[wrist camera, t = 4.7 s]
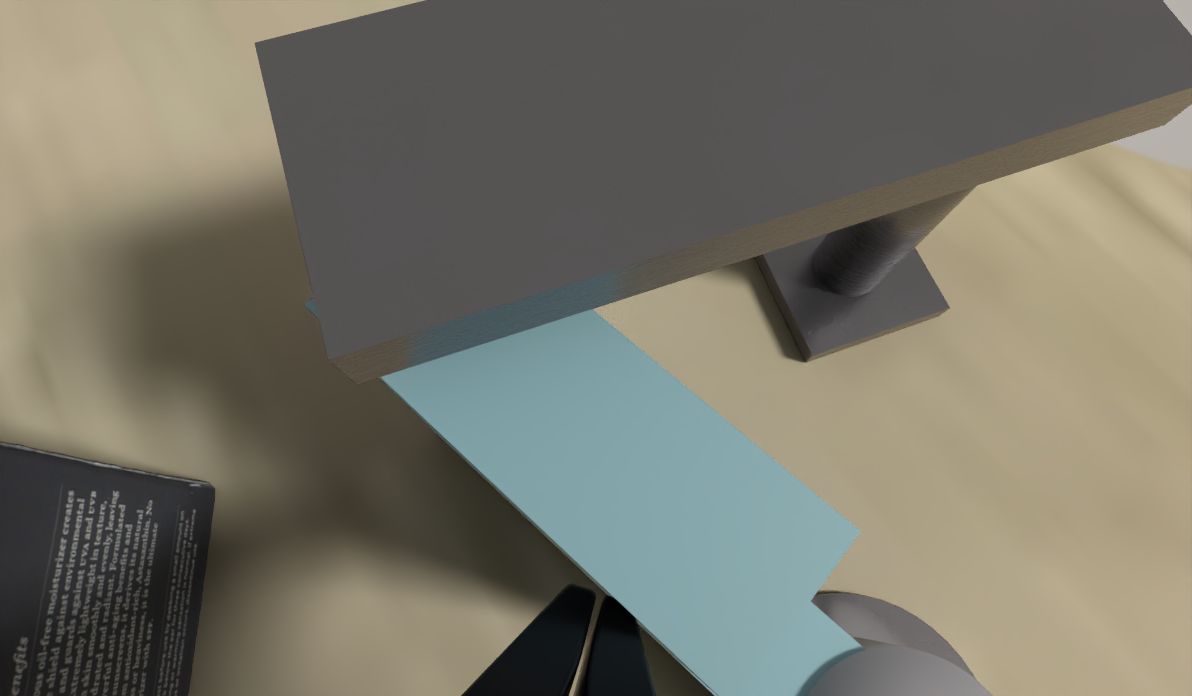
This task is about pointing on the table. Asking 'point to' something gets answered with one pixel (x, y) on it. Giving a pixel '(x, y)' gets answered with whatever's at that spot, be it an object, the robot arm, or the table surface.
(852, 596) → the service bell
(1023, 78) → the keeper
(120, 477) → the small box
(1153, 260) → the table surface
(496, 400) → the link
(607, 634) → the robot arm
